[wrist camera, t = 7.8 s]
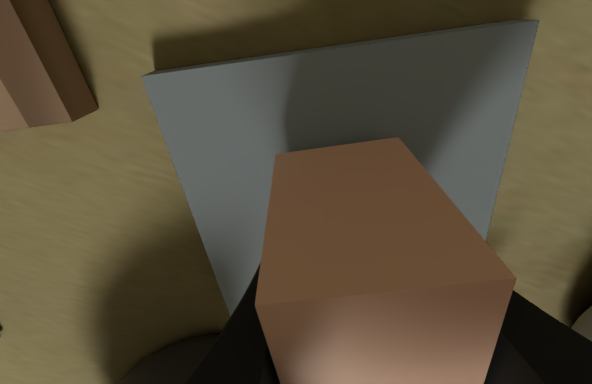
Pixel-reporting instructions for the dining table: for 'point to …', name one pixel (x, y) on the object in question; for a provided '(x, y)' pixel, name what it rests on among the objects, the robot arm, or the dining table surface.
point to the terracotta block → (374, 273)
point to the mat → (339, 123)
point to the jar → (584, 324)
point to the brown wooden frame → (38, 69)
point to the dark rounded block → (171, 362)
